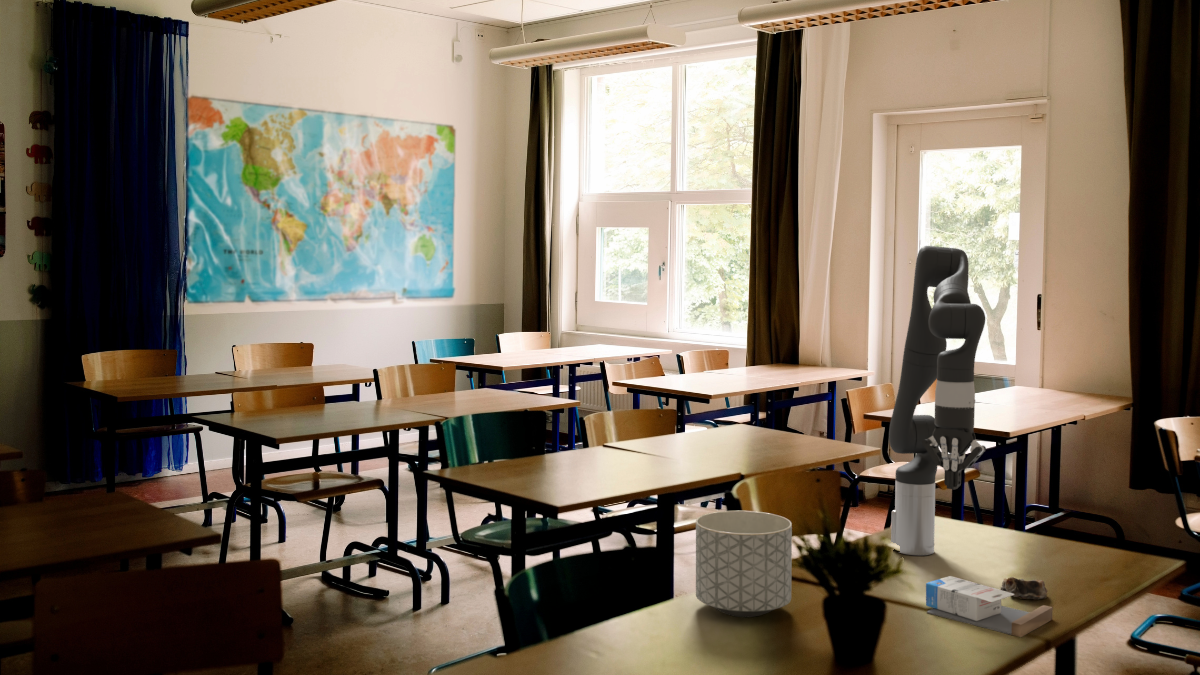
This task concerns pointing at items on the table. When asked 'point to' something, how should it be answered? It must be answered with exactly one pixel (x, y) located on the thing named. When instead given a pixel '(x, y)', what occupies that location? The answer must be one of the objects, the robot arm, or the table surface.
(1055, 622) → the table surface
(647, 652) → the table surface
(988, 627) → the mat
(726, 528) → the planter
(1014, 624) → the stop rail
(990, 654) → the table surface
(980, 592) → the ink box
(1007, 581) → the rock
